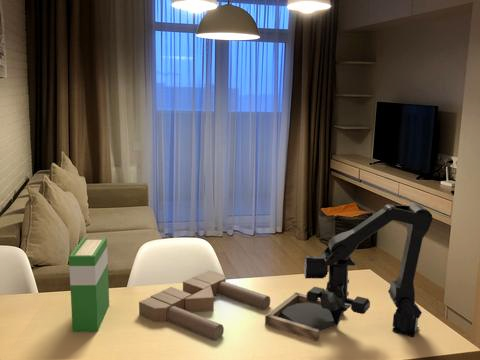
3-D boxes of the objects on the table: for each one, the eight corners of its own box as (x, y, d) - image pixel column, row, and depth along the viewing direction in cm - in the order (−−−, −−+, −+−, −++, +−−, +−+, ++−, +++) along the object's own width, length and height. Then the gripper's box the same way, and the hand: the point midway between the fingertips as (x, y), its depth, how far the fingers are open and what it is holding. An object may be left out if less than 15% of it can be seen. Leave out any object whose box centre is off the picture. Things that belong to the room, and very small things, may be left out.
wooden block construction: (139, 316, 162) (208, 347, 145) (138, 301, 161) (208, 329, 143) (209, 282, 189) (274, 305, 172) (209, 269, 188) (275, 290, 171)
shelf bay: (343, 313, 165) (343, 305, 165) (316, 341, 148) (317, 331, 147) (295, 300, 174) (295, 292, 174) (265, 324, 157) (265, 315, 156)
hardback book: (86, 305, 167) (83, 237, 163) (109, 305, 168) (106, 237, 163) (72, 332, 150) (68, 256, 145) (97, 331, 151) (94, 256, 146)
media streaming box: (303, 336, 150) (303, 327, 150) (276, 316, 163) (277, 307, 162) (341, 326, 157) (341, 317, 157) (313, 307, 170) (313, 299, 169)
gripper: (298, 280, 151) (298, 328, 154) (358, 293, 141) (356, 344, 144) (314, 268, 160) (313, 314, 163) (371, 280, 150) (369, 328, 153)
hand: (336, 325), depth 155 cm, fingers closed
